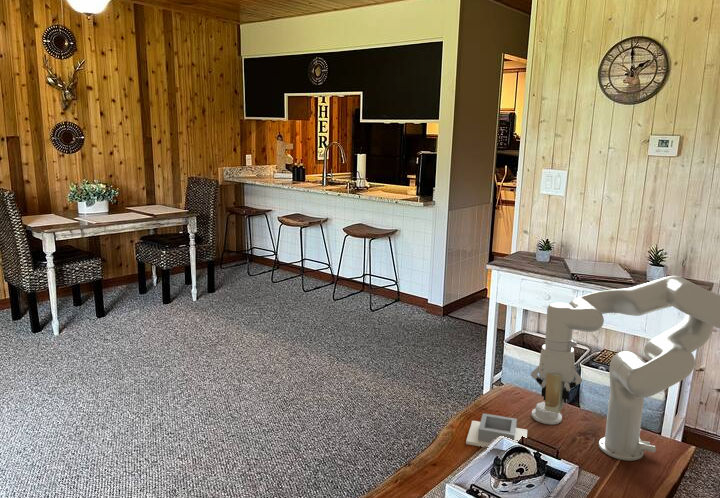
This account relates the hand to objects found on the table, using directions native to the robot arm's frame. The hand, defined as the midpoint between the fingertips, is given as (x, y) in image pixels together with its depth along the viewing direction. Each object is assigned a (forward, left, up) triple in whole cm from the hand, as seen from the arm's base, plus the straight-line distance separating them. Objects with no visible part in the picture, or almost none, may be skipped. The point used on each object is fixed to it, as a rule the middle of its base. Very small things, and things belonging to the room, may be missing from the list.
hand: (554, 399), depth 172 cm
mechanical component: (+2, -20, -17) cm, 26 cm away
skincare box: (0, 0, -3) cm, 3 cm away
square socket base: (+16, 0, -16) cm, 23 cm away
